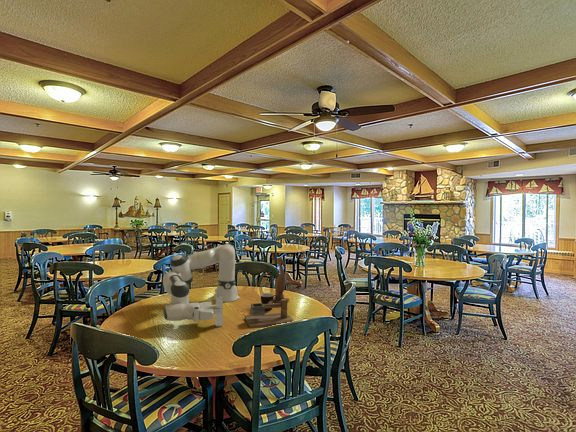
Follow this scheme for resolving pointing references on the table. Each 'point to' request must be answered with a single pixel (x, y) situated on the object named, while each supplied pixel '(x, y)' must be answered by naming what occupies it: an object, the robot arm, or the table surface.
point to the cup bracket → (267, 315)
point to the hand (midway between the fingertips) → (220, 309)
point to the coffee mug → (267, 299)
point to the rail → (219, 315)
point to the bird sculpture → (280, 283)
